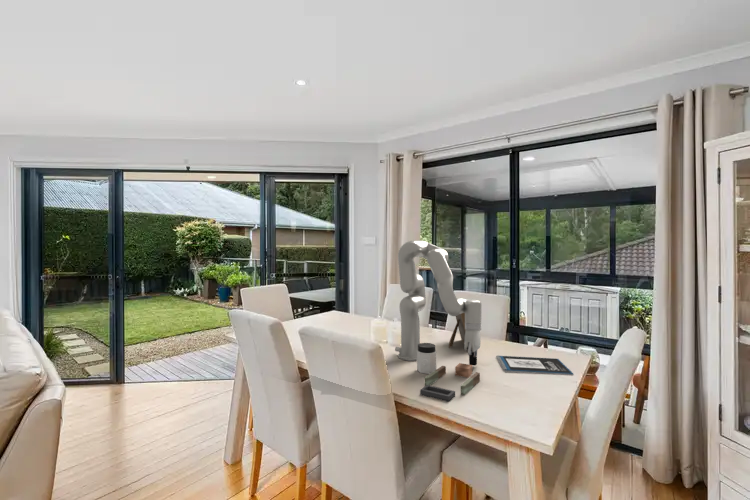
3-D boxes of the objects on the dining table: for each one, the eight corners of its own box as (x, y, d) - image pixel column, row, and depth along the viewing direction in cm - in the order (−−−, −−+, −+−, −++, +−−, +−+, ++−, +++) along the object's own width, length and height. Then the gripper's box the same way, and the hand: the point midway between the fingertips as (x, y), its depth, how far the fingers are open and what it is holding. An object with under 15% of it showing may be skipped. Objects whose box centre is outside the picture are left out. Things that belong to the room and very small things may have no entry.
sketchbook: (573, 376, 172) (573, 372, 172) (503, 373, 176) (503, 368, 176) (558, 361, 193) (558, 356, 193) (495, 358, 198) (495, 354, 198)
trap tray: (420, 394, 151) (420, 389, 151) (427, 389, 156) (427, 384, 156) (449, 401, 144) (449, 396, 144) (455, 396, 149) (455, 391, 149)
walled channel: (424, 386, 160) (424, 377, 160) (442, 373, 175) (442, 365, 175) (464, 395, 150) (464, 386, 150) (479, 380, 165) (479, 372, 165)
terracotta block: (455, 375, 172) (455, 366, 172) (459, 371, 178) (459, 363, 177) (468, 378, 169) (468, 369, 169) (472, 373, 175) (472, 365, 174)
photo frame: (468, 340, 231) (468, 298, 231) (477, 350, 210) (477, 304, 209) (443, 340, 232) (443, 298, 231) (450, 351, 210) (449, 305, 209)
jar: (415, 372, 176) (415, 346, 175) (418, 367, 183) (418, 342, 183) (434, 374, 173) (434, 348, 173) (437, 369, 181) (437, 343, 180)
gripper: (470, 322, 191) (470, 359, 192) (459, 328, 179) (459, 367, 179) (485, 324, 187) (485, 361, 187) (475, 330, 174) (475, 370, 175)
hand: (473, 364), depth 183 cm, fingers closed
